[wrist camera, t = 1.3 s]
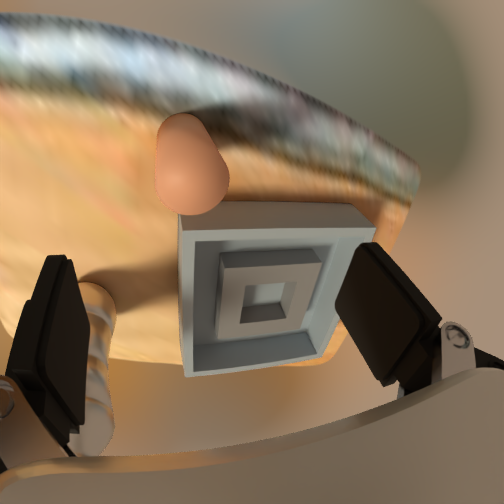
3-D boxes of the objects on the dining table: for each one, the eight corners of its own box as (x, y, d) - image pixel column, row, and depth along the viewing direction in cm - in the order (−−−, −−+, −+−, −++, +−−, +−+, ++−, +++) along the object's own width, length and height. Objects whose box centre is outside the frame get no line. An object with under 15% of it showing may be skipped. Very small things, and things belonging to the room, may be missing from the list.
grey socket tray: (178, 201, 27) (182, 230, 23) (351, 203, 32) (376, 227, 29) (180, 345, 38) (185, 377, 34) (307, 330, 44) (321, 357, 40)
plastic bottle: (121, 279, 30) (123, 475, 15) (114, 323, 33) (119, 493, 18) (63, 268, 27) (29, 462, 12) (62, 313, 31) (45, 483, 15)
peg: (158, 113, 22) (155, 145, 14) (207, 113, 23) (233, 147, 16) (156, 159, 24) (155, 216, 17) (203, 159, 26) (225, 214, 18)
